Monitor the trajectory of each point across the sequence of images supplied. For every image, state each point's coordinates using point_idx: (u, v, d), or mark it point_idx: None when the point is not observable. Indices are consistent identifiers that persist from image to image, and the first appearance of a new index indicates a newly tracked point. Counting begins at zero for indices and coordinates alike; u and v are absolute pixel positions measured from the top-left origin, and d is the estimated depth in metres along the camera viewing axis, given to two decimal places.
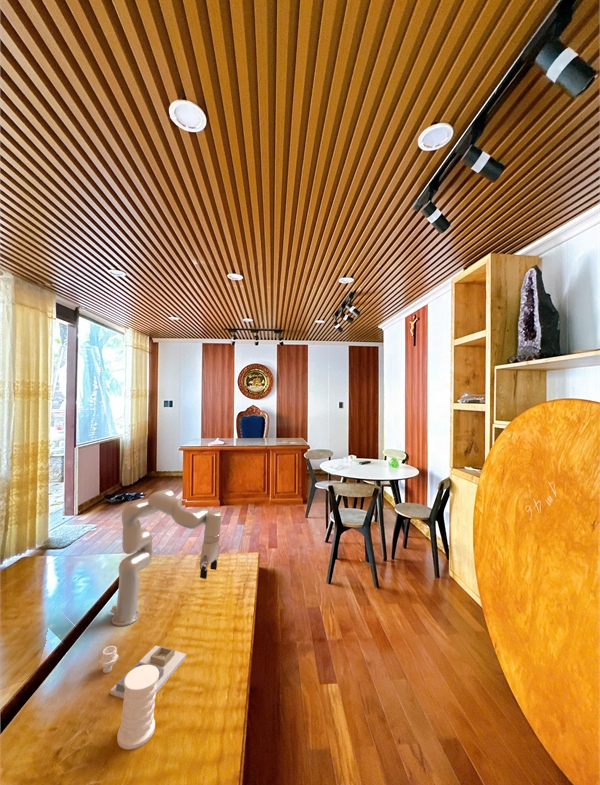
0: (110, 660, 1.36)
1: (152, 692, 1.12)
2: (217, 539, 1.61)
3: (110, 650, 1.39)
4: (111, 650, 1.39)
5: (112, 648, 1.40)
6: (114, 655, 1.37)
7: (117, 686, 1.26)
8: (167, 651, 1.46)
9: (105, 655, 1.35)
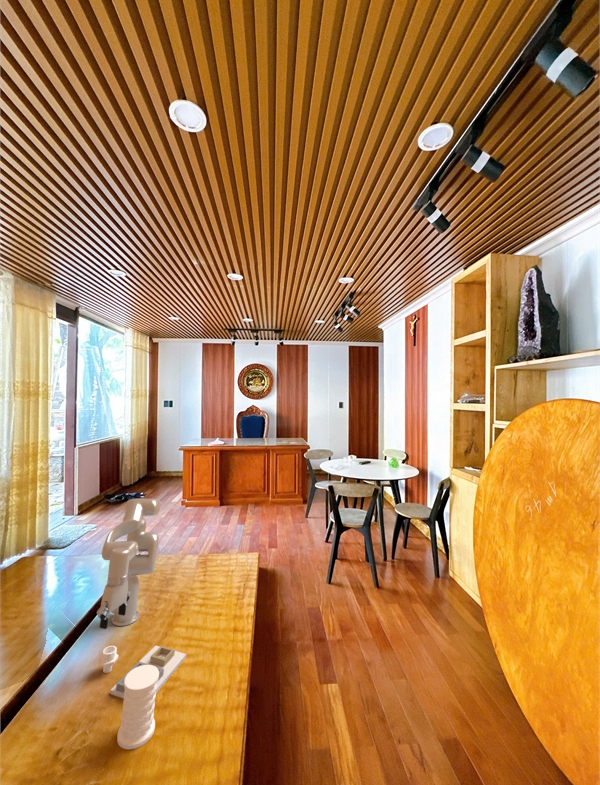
0: (110, 660, 1.36)
1: (152, 692, 1.12)
2: (123, 581, 1.38)
3: (110, 650, 1.39)
4: (111, 650, 1.39)
5: (112, 648, 1.40)
6: (114, 655, 1.37)
7: (117, 686, 1.26)
8: (167, 651, 1.46)
9: (105, 655, 1.35)
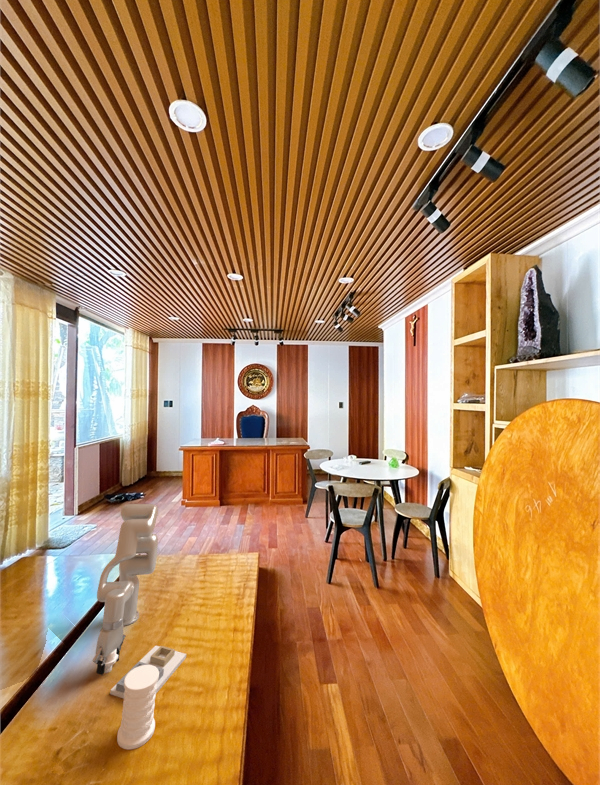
0: (110, 660, 1.36)
1: (152, 692, 1.12)
2: (118, 625, 1.37)
3: None
4: None
5: None
6: (114, 655, 1.37)
7: (117, 686, 1.26)
8: (167, 651, 1.46)
9: None
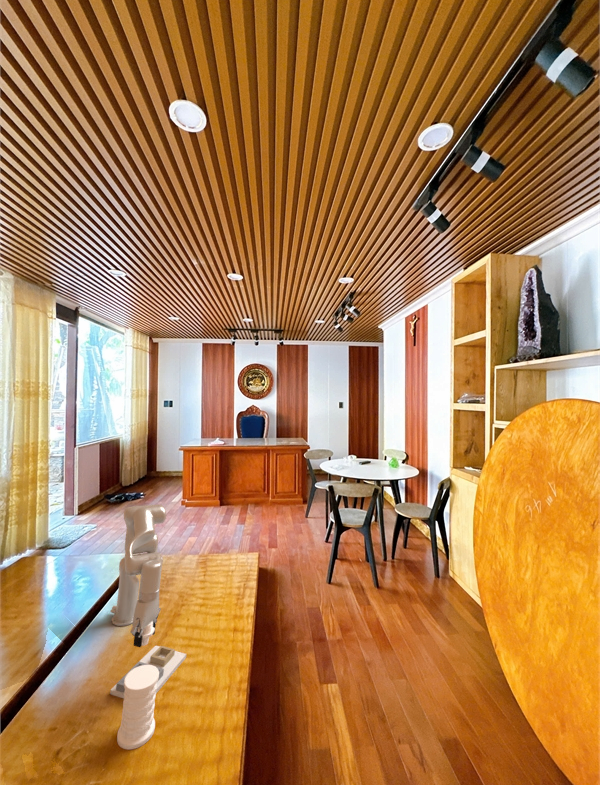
0: (147, 632, 1.30)
1: (152, 692, 1.12)
2: (155, 596, 1.31)
3: None
4: None
5: None
6: (151, 627, 1.32)
7: (117, 686, 1.26)
8: (167, 651, 1.46)
9: None
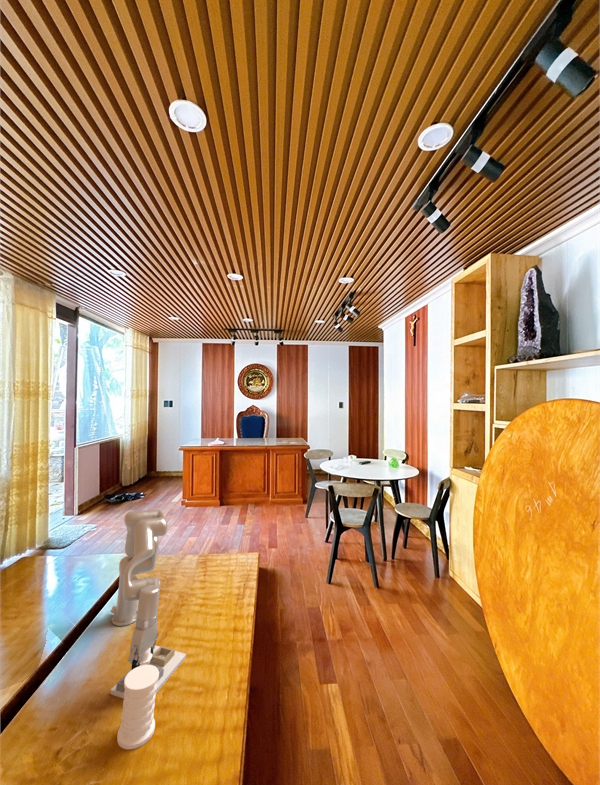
0: (145, 659, 1.29)
1: (152, 692, 1.12)
2: (153, 623, 1.30)
3: None
4: None
5: None
6: (148, 654, 1.31)
7: (117, 686, 1.26)
8: (167, 651, 1.46)
9: None
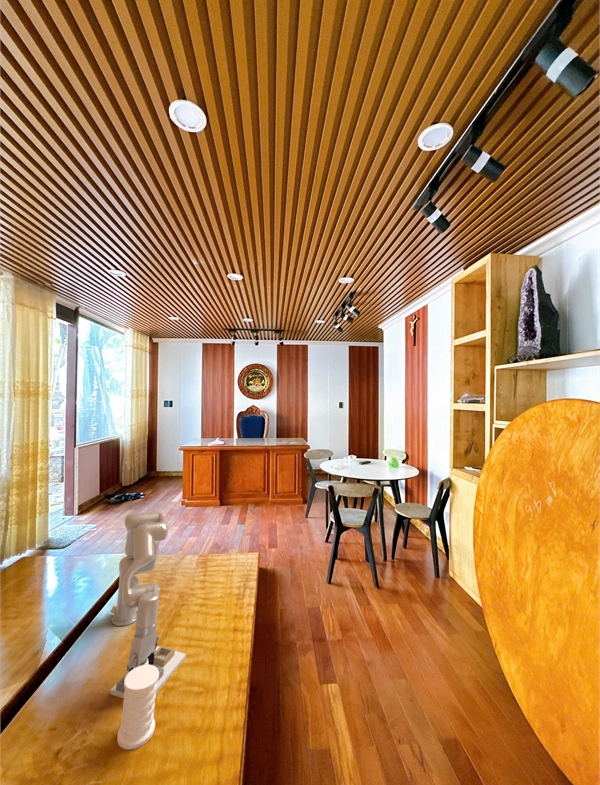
0: None
1: (152, 692, 1.12)
2: (152, 630, 1.30)
3: None
4: None
5: None
6: None
7: (117, 686, 1.26)
8: (167, 651, 1.46)
9: None
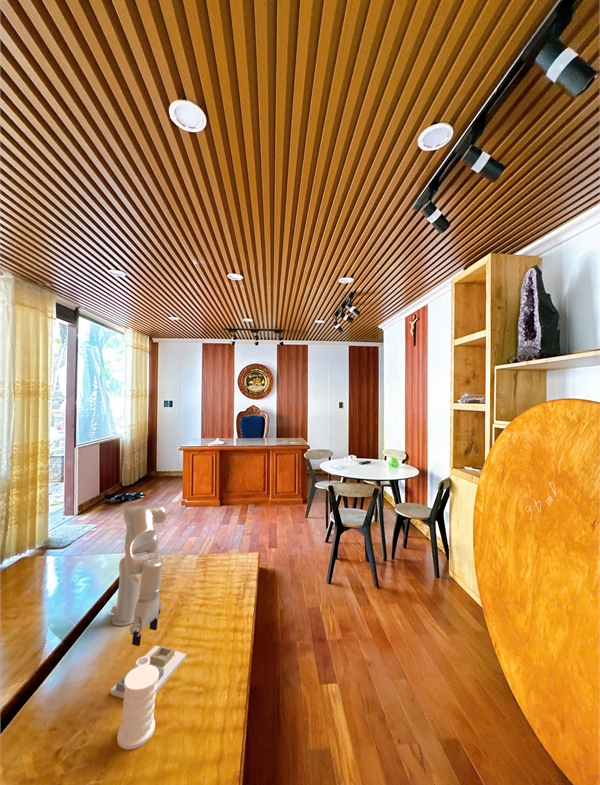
0: None
1: (152, 692, 1.12)
2: (155, 595, 1.31)
3: (143, 661, 1.33)
4: (144, 661, 1.33)
5: (145, 659, 1.33)
6: None
7: (117, 686, 1.26)
8: (167, 651, 1.46)
9: None
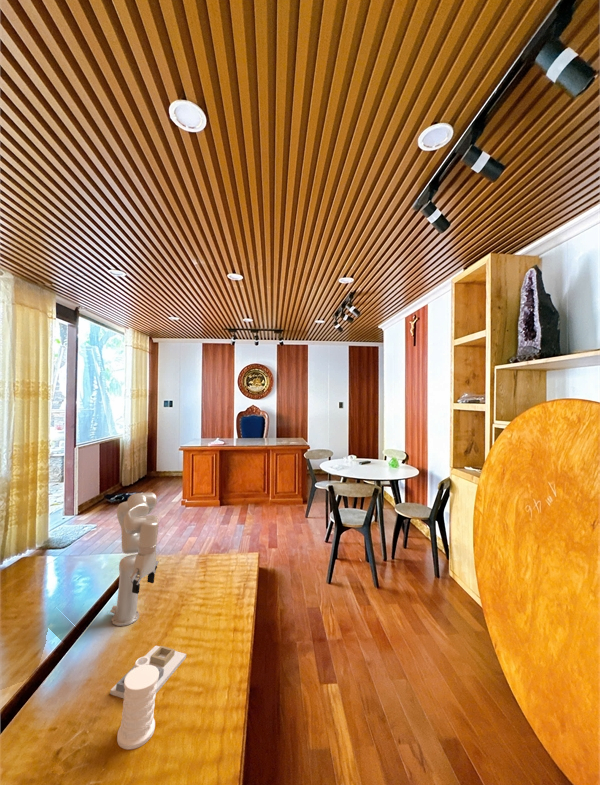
0: None
1: (152, 692, 1.12)
2: (152, 550, 1.49)
3: (142, 661, 1.33)
4: (143, 661, 1.33)
5: (144, 659, 1.33)
6: None
7: (117, 686, 1.26)
8: (167, 651, 1.46)
9: None
